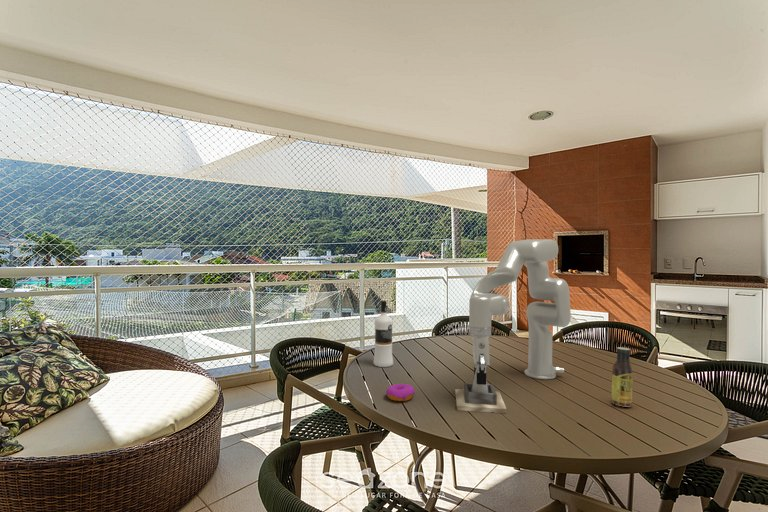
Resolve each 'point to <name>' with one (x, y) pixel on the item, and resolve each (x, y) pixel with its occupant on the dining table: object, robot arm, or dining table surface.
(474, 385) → the salt shaker
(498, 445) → the dining table surface
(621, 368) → the sauce bottle
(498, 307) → the robot arm
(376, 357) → the vodka
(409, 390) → the donut
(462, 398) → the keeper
